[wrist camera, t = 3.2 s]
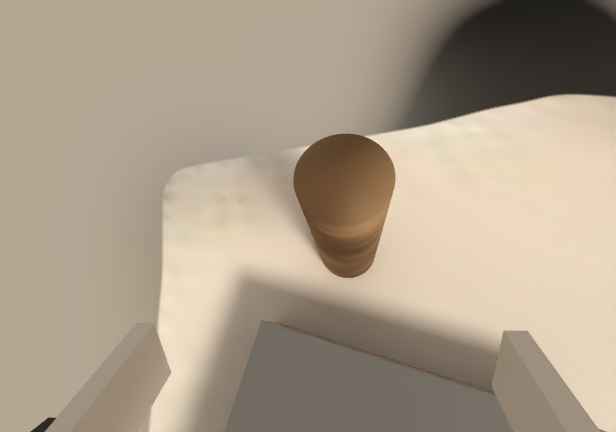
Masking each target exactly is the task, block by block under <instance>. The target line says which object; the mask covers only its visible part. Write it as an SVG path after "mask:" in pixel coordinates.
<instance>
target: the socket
mask: <svg viewBox="0 0 616 432" xmlns="http://www.w3.org/2000/svg"><path fill="white" fill-rule="evenodd" d="M599 431H600V432H606V431H603V430H601V429H599ZM226 432H513V430H512V428H511V426H510V424H509V422H508V420H507V418H506V416H505V414H504V412H503V409H502V407H501V405H500V403H499V401H498V399H497V397H496V395H495V393H492V392H489V391H486V390H483V389H480V388H477V387H474V386H471V385H468V384H464V383H461V382H458V381H455V380H452V379H449V378H446V377H443V376H440V375H437V374H433V373H430V372H427V371H424V370H421V369H418V368H415V367H412V366H409V365H405V364H402V363H399V362H396V361H393V360H390V359H387V358H384V357H381V356H378V355H374V354H371V353H368V352H365V351H362V350H359V349H356V348H353V347H350V346H347V345H343V344H340V343H337V342H334V341H331V340H328V339H325V338H322V337H319V336H316V335H312V334H309V333H306V332H303V331H300V330H297V329H294V328H291V327H288V326H285V325H281V324H278V323H275V322H268V321H262V322H261V325H260V328H259V331H258V334H257V337H256V340H255V343H254V346H253V349H252V352H251V355H250V358H249V361H248V364H247V368H246V371H245V374H244V377H243V380H242V383H241V386H240V389H239V392H238V395H237V398H236V401H235V404H234V407H233V410H232V414H231V417H230V420H229V423H228V426H227V429H226Z"/></svg>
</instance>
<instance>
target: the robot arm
mask: <svg viewBox="0 0 616 432" xmlns="http://www.w3.org/2000/svg"><path fill="white" fill-rule="evenodd" d="M170 374H171V371H170V368H169V365H168V362H167V359H166V356H165V354H164V351H163V348H162V345H161V342H160V339H159V337H158V334H157V331H156V328H155V325H154V324H141V323H140V324H138V323H137V324H136V325H135V326H134V327H133V328H132V329H131V331H130V332H129V333H128V334H127V335H126V336H125V338H124V339H123V340H122V341H121V342H120V343H119V345H118V346H117V347H116V348H115V350H114V351H113V352H112V353H111V354H110V355H109V357H108V358H107V359H106V360H105V361H104V362H103V364H102V365H101V366H100V367H99V369H98V370H97V371H96V372H95V373H94V374H93V375H92V377H91V378H90V379H89V380H88V381H87V382H86V384H85V385H84V386H83V387H82V389H81V390H80V391H79V392H78V393H77V394H76V395H75V397H74V398H73V399H72V400H71V401H70V403H69V404H68V405H67V406H66V407H65V408H64V410H63V411H62V412H61V413H60V415H59V416H58V417H57V418H47V419H46V420H45V421H44V422H42V423H41V424H40V425H39V426H37V427H36V428H35V429H34V430H32V431H31V432H137V430H138V428H139V427H140V425H141V423H142V422H143V420H144V418H145V416H146V415H147V413H148V411H149V410H150V408H151V406H152V405H153V403H154V401H155V399H156V398H157V396H158V394H159V393H160V391H161V389H162V387H163V386H164V384H165V382H166V381H167V379H168V377H169V376H170ZM491 386H492V388H493V391H494V393H495V395H496V397H497V399H498V401H499V403H500V405H501V407H502V409H503V412H504V414H505V416H506V418H507V420H508V422H509V424H510V426H511V428H512V430H513V432H600V431H599V429H598V428H597V426H596V425H595V424H594V422H593V421H592V420H591V418H590V417H589V415H588V414H587V413H586V411H585V410H584V408H583V407H582V406H581V404H580V403H579V402H578V400H577V399H576V397H575V396H574V395H573V393H572V392H571V390H570V389H569V388H568V386H567V385H566V384H565V382H564V381H563V379H562V378H561V377H560V375H559V374H558V372H557V371H556V370H555V368H554V367H553V366H552V364H551V363H550V361H549V360H548V359H547V357H546V356H545V354H544V353H543V352H542V350H541V349H540V348H539V346H538V345H537V343H536V342H535V341H534V339H533V338H532V336H531V335H530V334H529V332H528V331H504V332H503V337H502V341H501V345H500V350H499V354H498V359H497V363H496V367H495V372H494V376H493V380H492V385H491Z"/></svg>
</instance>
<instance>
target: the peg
mask: <svg viewBox="0 0 616 432" xmlns="http://www.w3.org/2000/svg"><path fill="white" fill-rule="evenodd" d="M394 186H395V169H394V166H393V163H392V161H391V159H390V157H389V155H388V154H387V152H386V151H385V150H384V149H383V148H382V147H381V146H380V145H379V144H377V143H376V142H374V141H372V140H370V139H368V138H366V137H363V136H360V135H355V134H337V135H332V136H329V137H326V138H323V139H321V140H319V141H317V142H316V143H314V144H313V145H311V146H310V147H309V148H308V149H307V150H306V151H305V152H304V153H303V155H302V156H301V157H300V159H299V161H298V163H297V165H296V168H295V172H294V189H295V192H296V195H297V198H298V200H299V203H300V205H301V208H302V210H303V213H304V215H305V218H306V220H307V223H308V225H309V228H310V230H311V233H312V235H313V238H314V240H315V243H316V245H317V247H318V250H319V252H320V255H321V257H322V260H323V262H324V264H325V266H326V267H327V268H328V269H329V270H330V271H331V272H332V273H334V274H335V275H337V276H340V277H344V278H352V277H357V276H359V275H361V274H363V273H365V272H366V271H367V270H368V269H369V268H370V266H371V265H372V263H373V261H374V257H375V254H376V250H377V247H378V243H379V240H380V236H381V232H382V229H383V225H384V222H385V218H386V215H387V211H388V208H389V204H390V201H391V197H392V193H393V190H394Z"/></svg>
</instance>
